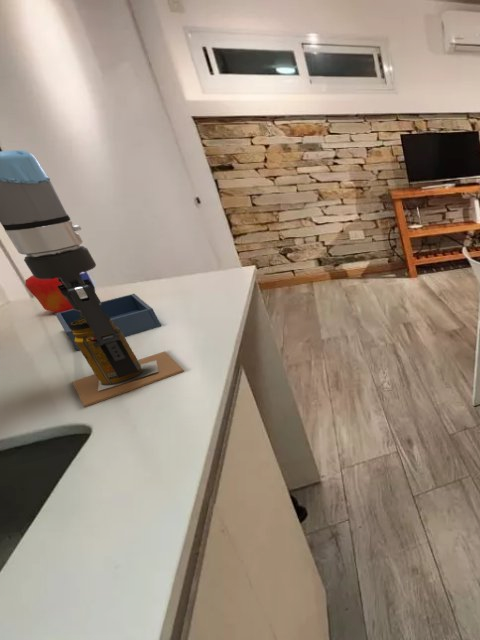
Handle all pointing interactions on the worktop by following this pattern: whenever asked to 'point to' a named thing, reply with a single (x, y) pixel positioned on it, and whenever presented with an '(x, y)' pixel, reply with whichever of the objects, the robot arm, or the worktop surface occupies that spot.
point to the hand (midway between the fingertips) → (122, 365)
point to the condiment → (99, 359)
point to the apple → (48, 294)
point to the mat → (89, 385)
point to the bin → (118, 316)
